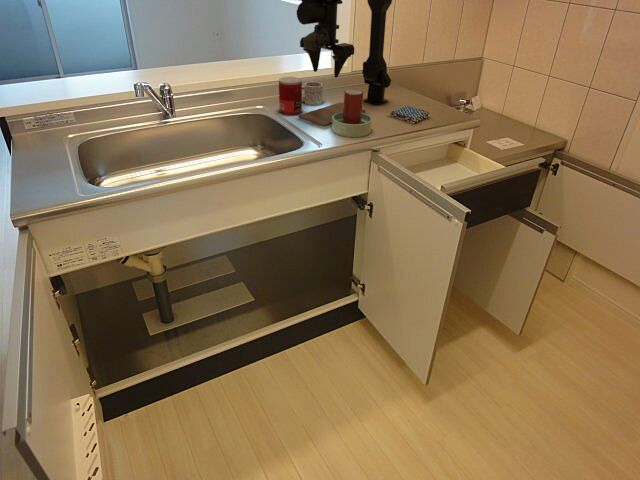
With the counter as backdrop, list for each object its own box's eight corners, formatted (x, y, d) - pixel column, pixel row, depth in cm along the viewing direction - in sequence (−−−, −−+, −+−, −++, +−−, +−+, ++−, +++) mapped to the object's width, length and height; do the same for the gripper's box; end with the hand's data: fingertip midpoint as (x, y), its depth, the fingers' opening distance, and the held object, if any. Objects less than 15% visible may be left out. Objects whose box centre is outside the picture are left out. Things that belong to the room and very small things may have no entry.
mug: (321, 99, 167) (322, 81, 164) (322, 105, 162) (323, 87, 158) (295, 99, 167) (295, 81, 163) (295, 105, 161) (295, 86, 158)
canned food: (299, 116, 152) (298, 83, 146) (276, 113, 153) (275, 81, 147) (304, 108, 158) (304, 77, 152) (282, 107, 159) (281, 75, 153)
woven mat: (388, 116, 153) (388, 110, 152) (405, 110, 160) (406, 104, 159) (412, 124, 148) (413, 118, 146) (430, 117, 154) (431, 111, 153)
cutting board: (339, 106, 162) (340, 102, 161) (365, 114, 155) (365, 110, 154) (298, 119, 149) (298, 115, 148) (323, 129, 142) (324, 124, 141)
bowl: (349, 121, 148) (350, 108, 146) (378, 131, 141) (380, 118, 139) (323, 130, 141) (324, 117, 138) (353, 142, 134) (354, 128, 131)
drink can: (350, 125, 144) (352, 87, 137) (364, 129, 141) (367, 92, 134) (338, 129, 141) (340, 91, 134) (352, 134, 137) (354, 95, 131)
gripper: (287, 19, 134) (287, 72, 142) (331, 28, 123) (329, 85, 132) (312, 16, 140) (312, 67, 149) (357, 24, 130) (353, 78, 139)
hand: (325, 74), depth 142 cm, fingers open, 9 cm apart
